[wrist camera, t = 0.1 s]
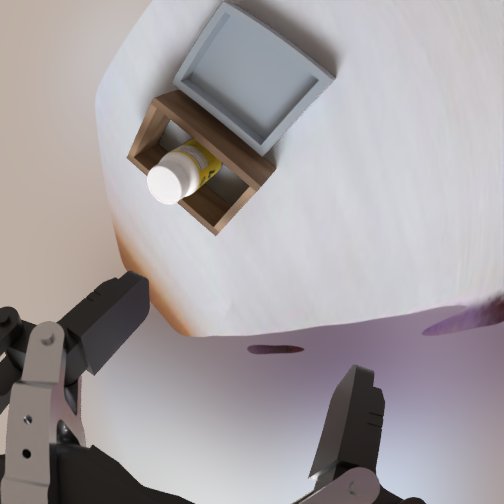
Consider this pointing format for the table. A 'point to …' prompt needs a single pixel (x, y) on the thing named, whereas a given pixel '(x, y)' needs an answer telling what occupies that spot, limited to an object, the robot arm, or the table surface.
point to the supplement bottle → (182, 172)
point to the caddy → (214, 140)
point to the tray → (250, 77)
